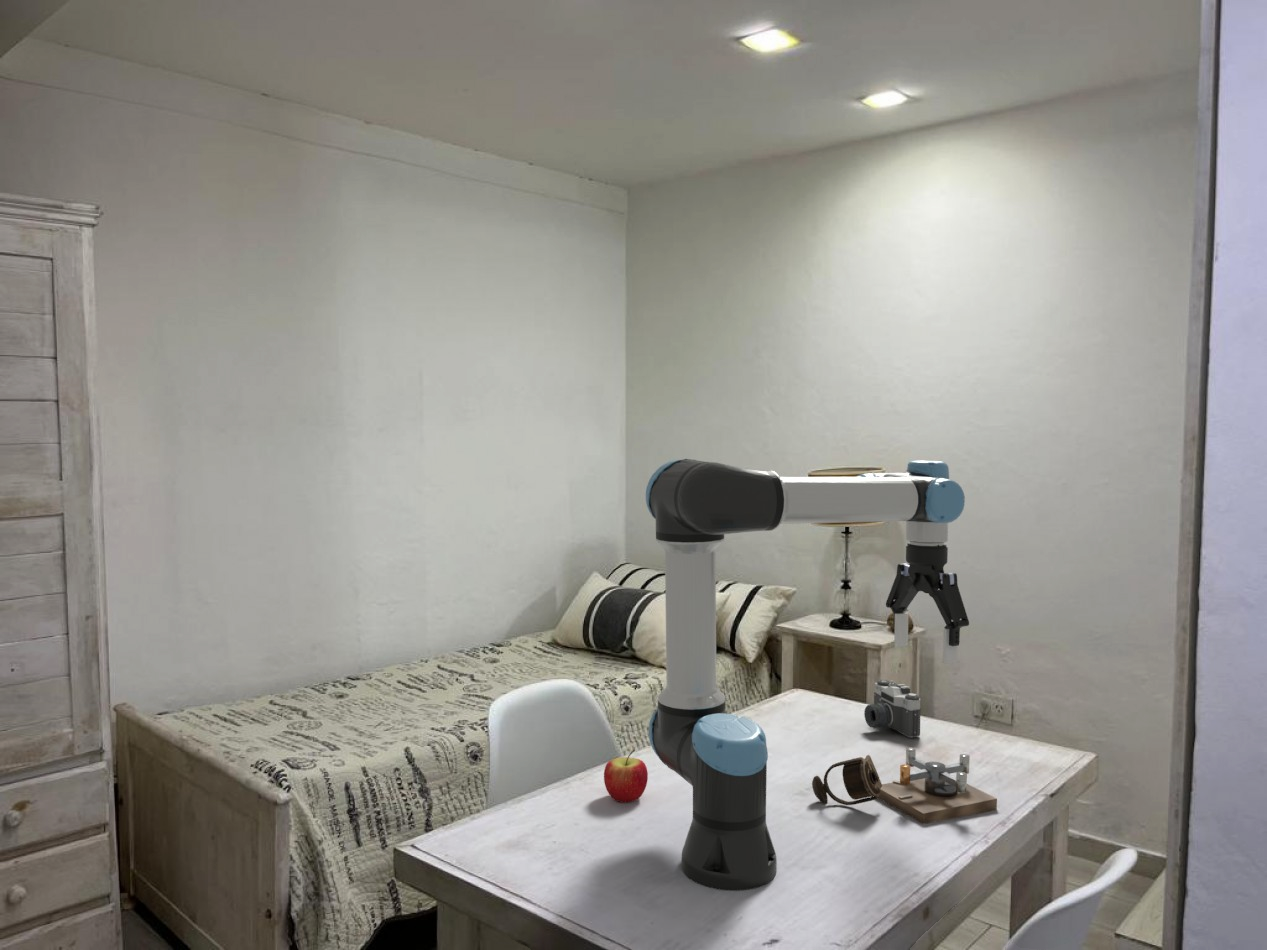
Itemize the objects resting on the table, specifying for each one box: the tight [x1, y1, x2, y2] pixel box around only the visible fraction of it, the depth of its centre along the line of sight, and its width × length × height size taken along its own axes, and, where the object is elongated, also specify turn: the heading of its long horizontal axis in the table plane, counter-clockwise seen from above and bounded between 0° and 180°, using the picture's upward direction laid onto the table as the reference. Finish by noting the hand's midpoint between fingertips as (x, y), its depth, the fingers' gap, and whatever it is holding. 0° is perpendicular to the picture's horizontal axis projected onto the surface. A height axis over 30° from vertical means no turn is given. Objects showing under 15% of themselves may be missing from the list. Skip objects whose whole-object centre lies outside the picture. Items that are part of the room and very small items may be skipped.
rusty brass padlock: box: [811, 754, 882, 806], centre depth 179 cm, size 7×13×10 cm, turn 78°
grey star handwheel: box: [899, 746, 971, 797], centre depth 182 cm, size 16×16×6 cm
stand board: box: [877, 778, 998, 825], centre depth 183 cm, size 17×14×2 cm
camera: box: [863, 679, 922, 738], centre depth 226 cm, size 16×10×10 cm, turn 17°
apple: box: [603, 748, 649, 803], centre depth 183 cm, size 8×8×10 cm
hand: (924, 654), depth 184 cm, fingers open, 13 cm apart
